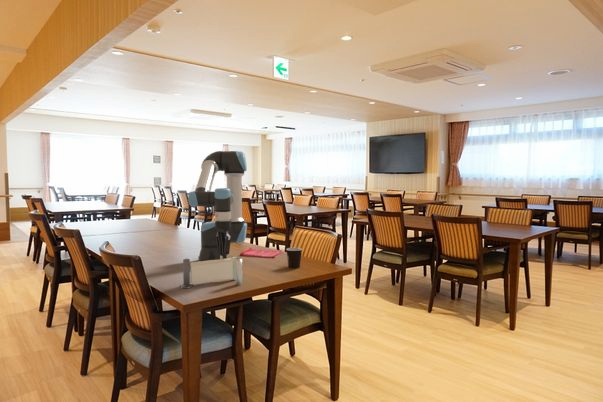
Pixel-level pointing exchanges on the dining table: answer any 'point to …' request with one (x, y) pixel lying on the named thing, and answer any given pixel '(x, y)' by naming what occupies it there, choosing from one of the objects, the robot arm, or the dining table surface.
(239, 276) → the gate posts
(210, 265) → the gate
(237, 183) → the robot arm
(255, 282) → the dining table surface
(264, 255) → the dish towel
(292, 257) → the coffee mug
